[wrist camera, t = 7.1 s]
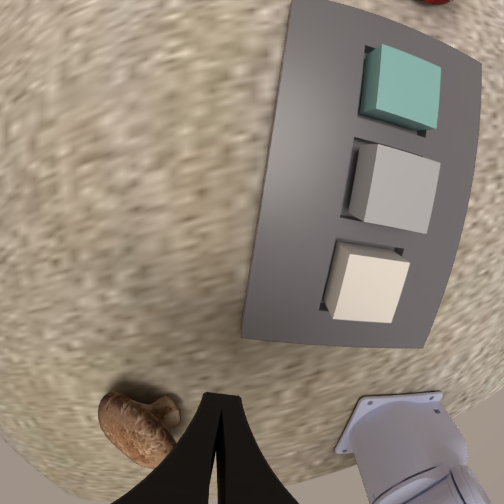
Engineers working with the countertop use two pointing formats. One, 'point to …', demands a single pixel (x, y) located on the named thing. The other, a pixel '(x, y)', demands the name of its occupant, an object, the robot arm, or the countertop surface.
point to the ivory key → (364, 283)
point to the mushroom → (139, 427)
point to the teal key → (400, 89)
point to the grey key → (394, 188)
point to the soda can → (438, 1)
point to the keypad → (352, 180)
